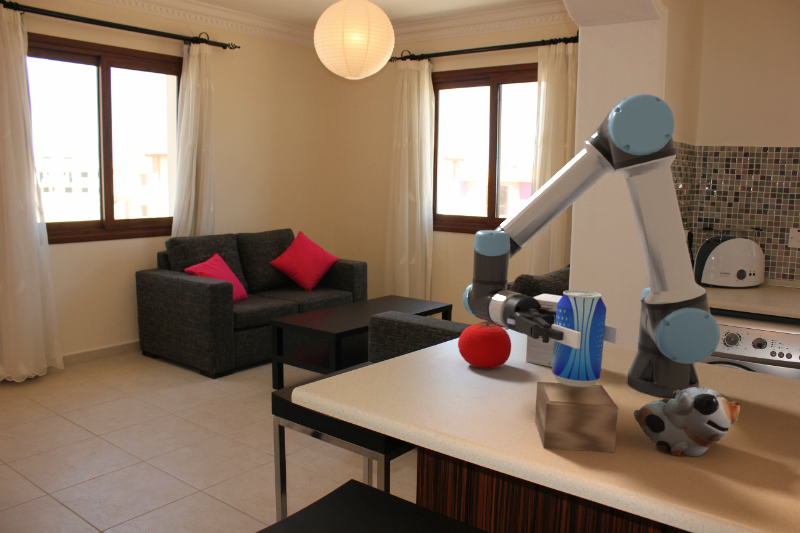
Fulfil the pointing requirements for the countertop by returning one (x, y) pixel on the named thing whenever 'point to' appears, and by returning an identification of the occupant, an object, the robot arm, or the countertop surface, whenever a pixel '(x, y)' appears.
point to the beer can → (589, 319)
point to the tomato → (485, 345)
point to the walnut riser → (575, 417)
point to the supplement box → (536, 347)
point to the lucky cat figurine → (688, 420)
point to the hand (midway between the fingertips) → (598, 338)
